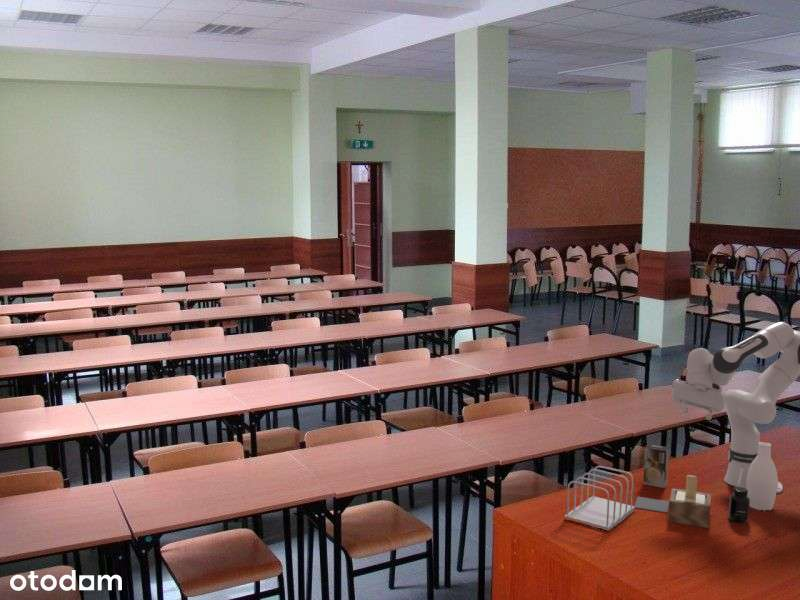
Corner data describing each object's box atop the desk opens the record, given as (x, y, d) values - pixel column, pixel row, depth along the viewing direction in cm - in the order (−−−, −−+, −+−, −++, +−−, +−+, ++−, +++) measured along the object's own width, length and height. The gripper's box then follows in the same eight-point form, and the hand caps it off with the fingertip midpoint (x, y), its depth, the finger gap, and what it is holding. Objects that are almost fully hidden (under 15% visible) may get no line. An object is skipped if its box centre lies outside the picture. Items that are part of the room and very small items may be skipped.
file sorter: (592, 500, 306) (594, 462, 304) (634, 511, 295) (637, 472, 293) (563, 520, 286) (565, 479, 284) (608, 532, 275) (610, 490, 274)
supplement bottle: (739, 524, 284) (742, 493, 283) (724, 518, 290) (726, 487, 289) (752, 521, 287) (754, 490, 286) (736, 515, 293) (739, 484, 292)
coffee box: (667, 483, 326) (669, 446, 324) (665, 488, 320) (667, 451, 318) (645, 479, 330) (647, 443, 328) (642, 484, 324) (644, 447, 322)
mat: (669, 502, 305) (669, 501, 305) (666, 513, 294) (666, 512, 294) (637, 497, 309) (637, 496, 309) (634, 507, 298) (634, 506, 298)
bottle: (745, 509, 299) (750, 446, 296) (743, 499, 309) (748, 438, 306) (777, 514, 295) (782, 449, 292) (774, 503, 305) (779, 441, 302)
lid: (705, 497, 292) (706, 474, 290) (704, 506, 282) (705, 483, 281) (677, 493, 295) (678, 470, 294) (675, 502, 286) (676, 478, 285)
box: (709, 514, 293) (711, 494, 292) (708, 528, 281) (710, 507, 280) (670, 508, 299) (672, 488, 298) (668, 521, 286) (669, 500, 285)
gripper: (676, 374, 307) (674, 405, 300) (726, 388, 306) (725, 419, 299) (669, 381, 312) (667, 412, 305) (718, 395, 312) (718, 425, 304)
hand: (696, 415), depth 302 cm, fingers open, 8 cm apart
